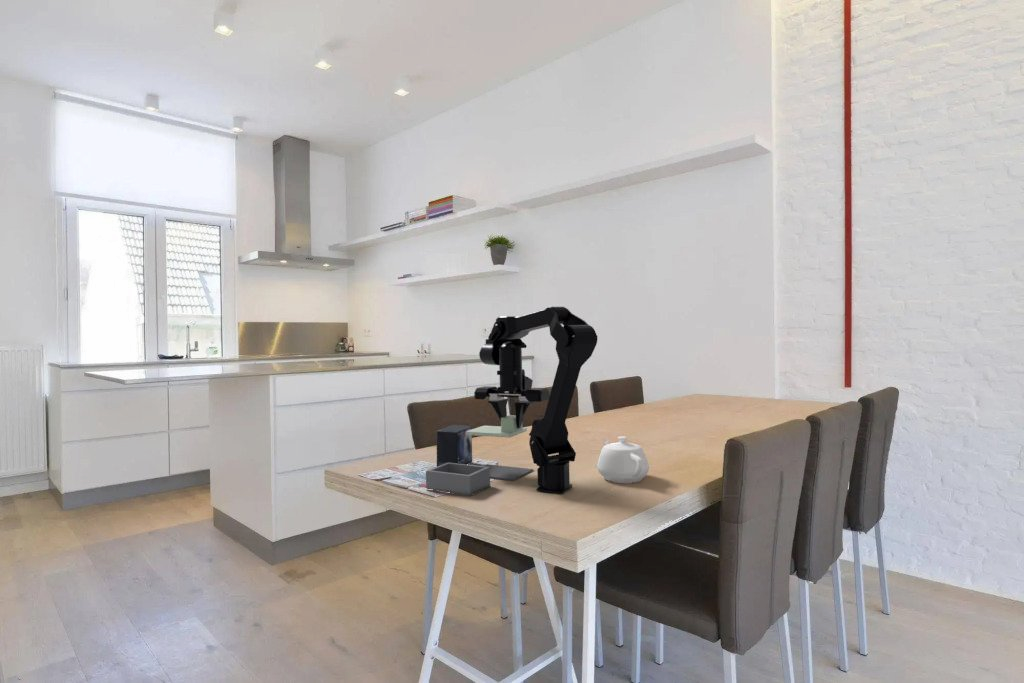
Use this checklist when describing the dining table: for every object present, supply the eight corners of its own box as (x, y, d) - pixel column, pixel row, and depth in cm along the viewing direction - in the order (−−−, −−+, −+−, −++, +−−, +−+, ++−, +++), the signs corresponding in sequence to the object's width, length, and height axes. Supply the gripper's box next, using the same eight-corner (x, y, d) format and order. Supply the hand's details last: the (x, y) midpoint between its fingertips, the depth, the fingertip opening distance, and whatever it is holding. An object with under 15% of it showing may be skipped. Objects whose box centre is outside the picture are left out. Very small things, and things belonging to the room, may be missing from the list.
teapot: (583, 470, 148) (582, 431, 147) (627, 466, 151) (626, 428, 150) (616, 491, 128) (615, 446, 128) (665, 486, 131) (665, 442, 131)
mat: (533, 470, 148) (533, 469, 148) (513, 481, 138) (513, 479, 138) (487, 465, 155) (487, 464, 155) (465, 475, 145) (465, 473, 145)
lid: (526, 432, 147) (526, 414, 147) (509, 439, 139) (509, 420, 138) (484, 429, 153) (483, 412, 153) (465, 436, 144) (465, 417, 144)
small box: (458, 471, 149) (457, 431, 149) (435, 470, 151) (434, 430, 151) (473, 462, 159) (472, 424, 159) (452, 461, 161) (451, 424, 161)
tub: (490, 485, 135) (490, 467, 134) (470, 496, 127) (469, 476, 127) (448, 480, 140) (447, 462, 140) (426, 490, 132) (425, 470, 132)
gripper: (557, 364, 146) (558, 424, 147) (493, 363, 155) (494, 421, 155) (539, 367, 136) (540, 432, 137) (472, 366, 145) (473, 427, 145)
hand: (512, 427), depth 144 cm, fingers closed on lid, 3 cm apart
